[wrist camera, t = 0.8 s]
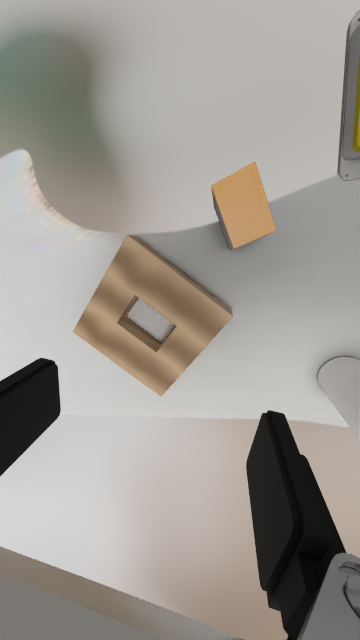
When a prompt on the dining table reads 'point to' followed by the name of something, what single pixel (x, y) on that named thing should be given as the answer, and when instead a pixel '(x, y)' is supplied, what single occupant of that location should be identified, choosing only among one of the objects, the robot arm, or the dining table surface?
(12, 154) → the dining table surface
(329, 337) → the dining table surface
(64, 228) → the dining table surface
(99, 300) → the socket block
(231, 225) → the key peg
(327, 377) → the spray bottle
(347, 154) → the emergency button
